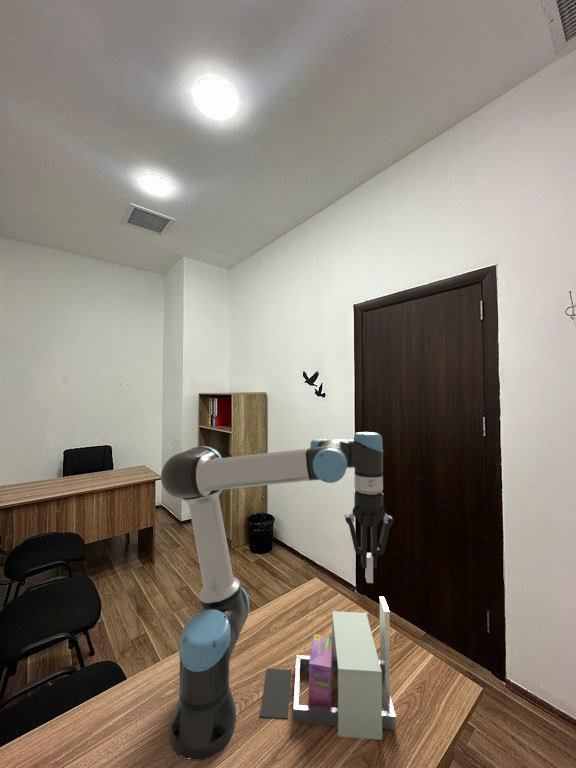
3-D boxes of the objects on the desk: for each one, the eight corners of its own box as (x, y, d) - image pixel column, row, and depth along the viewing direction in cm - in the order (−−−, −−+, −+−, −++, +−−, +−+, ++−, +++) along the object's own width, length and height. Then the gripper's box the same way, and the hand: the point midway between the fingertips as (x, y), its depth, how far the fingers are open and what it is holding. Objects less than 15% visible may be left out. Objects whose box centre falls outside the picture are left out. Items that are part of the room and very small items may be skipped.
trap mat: (259, 717, 79) (259, 716, 79) (267, 669, 93) (267, 668, 93) (287, 719, 79) (287, 718, 79) (291, 670, 93) (291, 669, 93)
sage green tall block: (338, 736, 75) (338, 668, 75) (332, 664, 95) (332, 611, 96) (382, 739, 74) (381, 671, 75) (366, 666, 94) (366, 612, 95)
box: (331, 716, 79) (331, 667, 80) (308, 711, 81) (308, 663, 81) (333, 680, 90) (333, 636, 90) (313, 676, 91) (313, 633, 91)
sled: (293, 723, 77) (293, 620, 78) (296, 666, 94) (296, 582, 95) (395, 730, 76) (394, 626, 77) (380, 671, 92) (379, 585, 93)
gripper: (345, 493, 83) (345, 587, 82) (397, 495, 82) (398, 589, 81) (342, 485, 91) (342, 571, 90) (389, 487, 90) (390, 573, 89)
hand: (369, 579), depth 86 cm, fingers closed
